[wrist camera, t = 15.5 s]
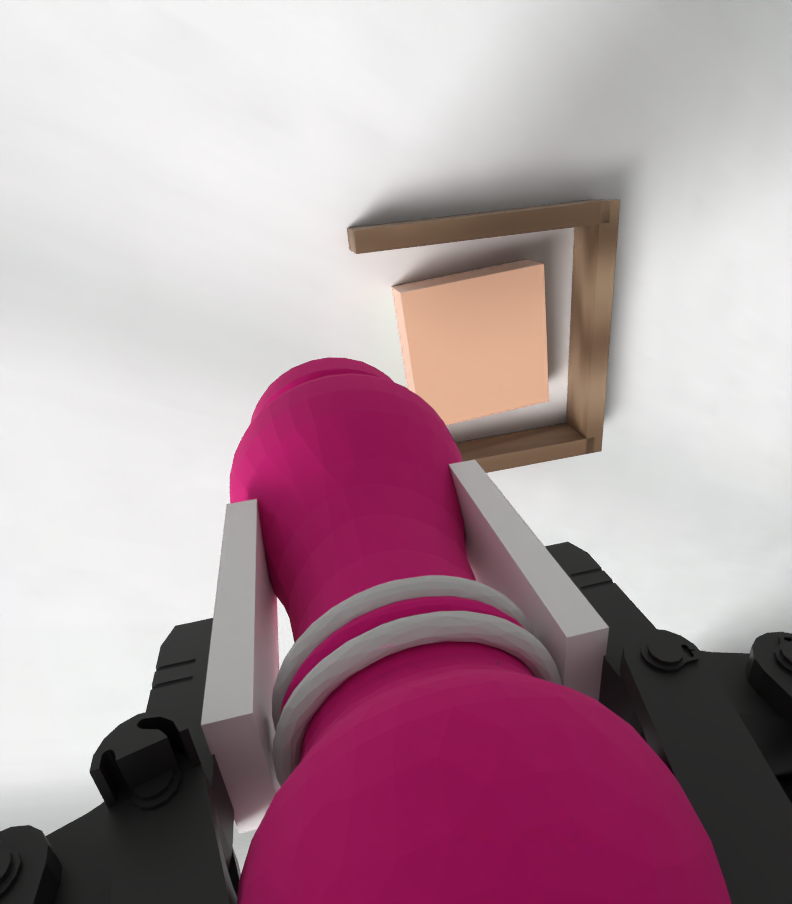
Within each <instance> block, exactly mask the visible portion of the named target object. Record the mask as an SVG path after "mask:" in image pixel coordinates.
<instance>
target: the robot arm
mask: <svg viewBox="0 0 792 904" xmlns="http://www.w3.org/2000/svg"><path fill="white" fill-rule="evenodd" d="M449 468H450V471H451V475H452V478H453V482H454V485H455V489H456V492H457V496H458V500H459V505H460V508H461V512H462V516H463V520H464V528H465V536H466V540H465V547H466V552H467V558H468V561H469V563H470V566H471V568H472V571H473V573H474V576H475V578H476V581H477V582H480V583H482V584H484V585H487V586H489V587H491V588H493V589H495V590H496V591H498V592H500V593H502V594H504V595H505V596H506V597H508V598H509V599H510V600H511V601H512V602H513V603H514V604H515V605H516V606H518V607H519V608H520V609H521V610H522V611H523V613H524V614H525V616H526V617H527V619H528V620H529V622H530V623H531V625H532V628H533V630H534V633H535V635H536V637H537V639H538V640H539V641H540V642H541V643H542V644H543V645H544V646H545V648H546V649H547V650H548V652H549V653H550V655H551V656H552V658H553V660H554V661H555V663H556V665H557V668H558V671H559V674H560V677H561V680H562V685H563V686H566V687H569V688H572V689H574V690H576V691H579V692H581V693H583V694H585V695H587V696H589V697H591V698H594V699H596V700H597V701H599V702H600V703H601V704H603V705H604V706H605V707H607V708H608V709H610V710H611V711H612V712H614V713H615V714H616V715H618V716H619V717H620V718H622V719H623V720H625V721H626V722H627V723H629V724H630V725H631V726H633V728H634V729H635V730H636V731H637V732H638V733H639V735H640V736H641V737H642V738H643V739H644V740H645V741H646V743H647V744H648V745H649V746H650V747H651V748H652V749H653V751H654V752H655V753H656V754H657V755H658V756H659V757H660V759H661V760H662V761H663V762H664V763H665V764H666V766H667V767H668V768H669V770H670V771H671V772H672V774H673V775H674V776H675V778H676V779H677V780H678V782H679V784H680V785H681V787H682V789H683V790H684V792H685V794H686V796H687V798H688V799H689V801H690V803H691V805H692V807H693V809H694V810H695V812H696V814H697V816H698V818H699V819H700V821H701V823H702V825H703V827H704V829H705V830H706V832H707V834H708V836H709V838H710V840H711V842H712V845H713V848H714V851H715V853H716V856H717V859H718V862H719V865H720V868H721V871H722V874H723V877H724V880H725V883H726V886H727V890H728V893H729V896H730V900H731V904H792V634H790V633H784V632H774V633H766V634H764V635H762V636H759V637H757V638H756V640H755V642H754V644H753V645H752V648H751V652H750V654H744V653H718V652H706V651H700V650H699V649H698V648H697V647H696V646H695V645H694V644H693V643H691V642H690V641H688V640H687V639H685V638H684V637H682V636H680V635H677V634H675V633H672V632H669V631H666V630H658V629H656V628H655V627H654V625H653V624H652V623H651V622H650V621H649V620H648V619H647V618H646V617H645V616H644V614H643V613H642V612H641V611H640V610H639V609H638V608H637V607H636V606H635V604H634V603H633V602H632V601H631V600H630V599H629V598H628V597H627V596H626V595H625V593H624V592H623V591H622V590H621V589H620V588H619V587H618V586H617V585H616V583H613V582H612V579H611V578H610V577H609V576H608V575H607V574H606V572H605V571H602V569H601V567H600V566H599V565H598V564H597V562H596V561H595V560H594V559H593V558H592V557H591V556H590V555H589V554H588V553H587V552H585V551H584V550H582V549H580V548H578V547H576V546H575V545H573V544H571V543H569V542H564V543H559V544H555V545H550V546H544V545H543V544H542V543H541V541H540V540H539V539H538V538H537V536H536V535H535V534H534V533H533V531H532V530H531V529H530V528H529V526H528V525H527V524H526V523H525V521H524V520H523V519H522V518H521V516H520V515H519V514H518V513H517V511H516V510H515V509H514V508H513V506H512V505H511V504H510V503H509V501H508V500H507V499H506V498H505V496H504V495H503V494H502V493H501V491H500V490H499V489H498V488H497V486H496V485H495V484H494V483H493V481H492V480H491V479H490V478H489V476H488V475H487V474H486V473H485V471H484V470H483V469H482V468H481V466H480V465H479V464H478V463H477V461H476V460H470V461H464V462H459V463H453V464H449ZM278 672H279V651H278V621H277V596H276V595H275V593H274V591H273V588H272V585H271V583H270V580H269V574H268V568H267V562H266V556H265V551H264V545H263V538H262V531H261V524H260V517H259V510H258V502H257V499H253V500H247V501H242V502H236V503H231V504H227V506H226V515H225V523H224V532H223V540H222V549H221V557H220V566H219V574H218V583H217V591H216V600H215V608H214V617H213V618H210V619H206V620H201V621H196V622H192V623H187V624H182V625H177V626H175V627H174V628H173V630H172V631H171V633H170V634H169V635H168V637H167V638H166V640H165V641H164V643H163V644H162V645H161V647H160V652H159V656H158V661H157V665H156V672H155V674H154V678H153V683H152V690H151V692H150V696H149V700H148V705H147V709H146V712H145V713H141V714H138V715H136V716H134V717H132V718H130V719H129V720H127V721H125V722H123V723H122V724H120V725H119V726H117V727H116V728H115V729H114V730H113V731H112V732H111V733H110V734H109V735H108V736H107V737H106V738H104V740H103V741H102V743H101V744H100V746H99V747H98V749H97V751H96V752H95V754H94V755H93V759H92V763H91V767H90V774H91V776H92V778H93V780H94V782H95V784H96V786H97V788H98V790H99V792H100V794H101V795H102V797H103V799H104V802H103V803H102V804H101V805H99V806H98V807H96V808H95V809H93V810H92V811H90V812H89V813H87V814H85V815H84V816H82V817H80V818H78V819H76V820H74V821H73V822H71V823H69V824H67V825H65V826H63V827H62V828H60V829H58V830H56V831H54V832H52V833H51V834H49V835H47V836H45V835H44V833H43V832H42V831H41V830H39V829H36V828H34V827H32V826H30V825H27V826H16V827H10V828H7V829H5V830H3V831H0V904H237V895H238V884H239V880H240V876H241V873H240V869H239V865H238V861H237V858H236V855H235V853H234V850H233V847H232V844H233V822H234V820H235V822H236V825H237V828H238V831H239V834H240V833H244V832H247V831H251V830H255V829H258V827H259V825H260V823H261V821H262V819H263V817H264V815H265V813H266V811H267V809H268V807H269V805H270V803H271V802H272V800H273V798H274V796H275V794H276V793H277V791H278V790H279V789H280V785H279V783H278V780H277V777H276V772H275V767H274V762H273V755H272V753H273V742H274V737H275V733H276V732H275V729H274V724H273V719H272V694H273V688H274V685H275V681H276V678H277V675H278Z"/></svg>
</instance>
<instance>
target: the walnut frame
mask: <svg viewBox="0 0 792 904" xmlns="http://www.w3.org/2000/svg"><path fill="white" fill-rule="evenodd" d="M619 207H620V200H585V201H577V202H568V203H560V204H551V205H542V206H534V207H525V208H516V209H508V210H499V211H491V212H482V213H473V214H465V215H456V216H447V217H439V218H430V219H422V220H413V221H404V222H396V223H387V224H378V225H370V226H361V227H352V228H347V233H348V241H349V249H350V250H351V251H353V252H354V253H356V254H360V253H368V252H376V251H384V250H392V249H400V248H409V247H417V246H425V245H433V244H441V243H449V242H457V241H465V240H474V239H482V238H490V237H498V236H506V235H514V234H522V233H530V232H539V231H547V230H555V229H563V228H571V227H574V251H573V275H572V298H571V322H570V345H569V369H568V393H567V416H566V423H565V424H559V425H554V426H548V427H542V428H537V429H531V430H526V431H520V432H514V433H509V434H503V435H498V436H492V437H486V438H481V439H475V440H470V441H464V442H458V443H456V445H457V447H458V449H459V451H460V453H461V457H462V461H463V462H464V461H470V460H476V461H477V463H478V464H479V465H480V466H481V468H482V469H483V470H484V471H485V473H488V472H493V471H498V470H504V469H509V468H514V467H520V466H525V465H530V464H535V463H541V462H546V461H551V460H557V459H562V458H567V457H573V456H578V455H583V454H589V453H594V452H599V451H601V449H602V436H603V422H604V409H605V395H606V382H607V368H608V355H609V341H610V328H611V314H612V301H613V288H614V274H615V261H616V247H617V234H618V220H619Z"/></svg>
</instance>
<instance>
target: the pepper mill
mask: <svg viewBox="0 0 792 904" xmlns="http://www.w3.org/2000/svg"><path fill="white" fill-rule="evenodd" d="M459 462H463V461H462V457H461V453H460V451H459V449H458V447H457V445H456V443H455V442H454V440H453V438H452V436H451V434H450V432H449V430H448V429H447V427H446V425H445V423H444V421H443V420H442V419H441V417H440V416H439V415H438V414H437V412H436V411H435V410H434V409H433V408H432V407H431V406H430V405H429V404H428V403H427V402H426V401H425V400H423V399H422V398H421V397H420V396H418V395H417V394H415V393H414V392H412V391H410V390H409V389H407V388H406V387H404V386H401V385H399V384H397V383H394V382H393V381H392V380H391V379H390V377H388V376H387V375H385V374H384V373H383V372H381V371H380V370H378V369H376V368H375V367H373V366H370V365H368V364H366V363H364V362H361V361H356V360H352V359H347V358H323V359H317V360H312V361H309V362H306V363H304V364H301V365H299V366H296V367H293V368H292V369H290V370H289V371H287V372H286V373H284V374H283V375H281V376H280V377H279V378H278V379H276V380H275V381H274V382H273V383H272V384H271V385H270V386H269V387H268V389H267V390H266V391H265V393H264V394H263V396H262V397H261V398H260V400H259V402H258V404H257V406H256V408H255V410H254V413H253V415H252V420H251V424H250V426H249V427H248V429H247V430H246V432H245V434H244V436H243V437H242V439H241V441H240V443H239V445H238V448H237V450H236V452H235V454H234V459H233V464H232V469H231V473H230V503H236V502H242V501H247V500H253V499H257V502H258V510H259V517H260V524H261V531H262V538H263V545H264V551H265V556H266V562H267V568H268V574H269V580H270V583H271V585H272V588H273V591H274V593H275V595H276V596H277V597H278V599H279V600H280V601H281V603H282V604H283V605H284V607H285V609H286V612H287V614H288V616H289V618H290V623H291V628H292V632H293V637H294V642H295V643H294V645H293V646H292V648H291V649H290V651H289V653H288V654H287V656H286V657H285V659H284V661H283V663H282V665H281V668H280V670H279V672H278V675H277V678H276V681H275V685H274V688H273V694H272V719H273V724H274V729H275V732H276V733H275V737H274V742H273V753H272V755H273V762H274V767H275V772H276V777H277V780H278V783H279V785H280V789H279V790H278V791H277V793H276V794H275V796H274V798H273V800H272V802H271V803H270V805H269V807H268V809H267V811H266V813H265V815H264V817H263V819H262V821H261V823H260V825H259V827H258V829H257V831H256V833H255V835H254V837H253V839H252V841H251V844H250V847H249V850H248V854H247V857H246V860H245V863H244V867H243V870H242V873H241V876H240V880H239V884H238V895H237V904H731V900H730V896H729V893H728V890H727V886H726V883H725V880H724V877H723V874H722V871H721V868H720V865H719V862H718V859H717V856H716V853H715V851H714V848H713V845H712V842H711V840H710V838H709V836H708V834H707V832H706V830H705V829H704V827H703V825H702V823H701V821H700V819H699V818H698V816H697V814H696V812H695V810H694V809H693V807H692V805H691V803H690V801H689V799H688V798H687V796H686V794H685V792H684V790H683V789H682V787H681V785H680V784H679V782H678V780H677V779H676V778H675V776H674V775H673V774H672V772H671V771H670V770H669V768H668V767H667V766H666V764H665V763H664V762H663V761H662V760H661V759H660V757H659V756H658V755H657V754H656V753H655V752H654V751H653V749H652V748H651V747H650V746H649V745H648V744H647V743H646V741H645V740H644V739H643V738H642V737H641V736H640V735H639V733H638V732H637V731H636V730H635V729H634V728H633V726H631V725H630V724H629V723H627V722H626V721H625V720H623V719H622V718H620V717H619V716H618V715H616V714H615V713H614V712H612V711H611V710H610V709H608V708H607V707H605V706H604V705H603V704H601V703H600V702H599V701H597V700H596V699H594V698H591V697H589V696H587V695H585V694H583V693H581V692H579V691H576V690H574V689H572V688H569V687H566V686H563V685H562V680H561V677H560V674H559V671H558V668H557V665H556V663H555V661H554V660H553V658H552V656H551V655H550V653H549V652H548V650H547V649H546V648H545V646H544V645H543V644H542V643H541V642H540V641H539V640H538V639H537V637H536V635H535V633H534V630H533V628H532V625H531V623H530V622H529V620H528V619H527V617H526V616H525V614H524V613H523V611H522V610H521V609H520V608H519V607H518V606H516V605H515V604H514V603H513V602H512V601H511V600H510V599H509V598H508V597H506V596H505V595H504V594H502V593H500V592H498V591H496V590H495V589H493V588H491V587H489V586H487V585H484V584H482V583H480V582H477V581H476V578H475V576H474V573H473V571H472V568H471V566H470V563H469V561H468V558H467V552H466V547H465V540H466V536H465V528H464V520H463V516H462V512H461V508H460V505H459V500H458V496H457V492H456V489H455V485H454V482H453V478H452V475H451V471H450V468H449V464H453V463H459Z"/></svg>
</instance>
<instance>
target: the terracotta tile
mask: <svg viewBox="0 0 792 904" xmlns="http://www.w3.org/2000/svg"><path fill="white" fill-rule="evenodd" d="M392 293H393V299H394V305H395V312H396V318H397V324H398V331H399V337H400V343H401V350H402V356H403V362H404V368H405V375H406V381H407V387H408V389H409V390H410V391H412V392H414V393H415V394H417V395H418V396H420V397H421V398H422V399H423V400H425V401H426V402H427V403H428V404H429V405H430V406H431V407H432V408H433V409H434V410H435V411H436V412H437V414H438V415H439V416H440V417H441V419H442V420H443V421H444V423H445V425H450V424H454V423H458V422H462V421H467V420H471V419H475V418H479V417H484V416H488V415H492V414H496V413H501V412H505V411H509V410H513V409H517V408H522V407H526V406H530V405H534V404H539V403H543V402H547V401H549V388H548V361H547V334H546V306H545V279H544V264H543V263H539V262H535V261H531V260H521V261H516V262H511V263H506V264H501V265H496V266H491V267H486V268H481V269H476V270H471V271H466V272H461V273H457V274H452V275H447V276H442V277H437V278H432V279H427V280H422V281H417V282H412V283H407V284H402V285H397V286H392Z"/></svg>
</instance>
